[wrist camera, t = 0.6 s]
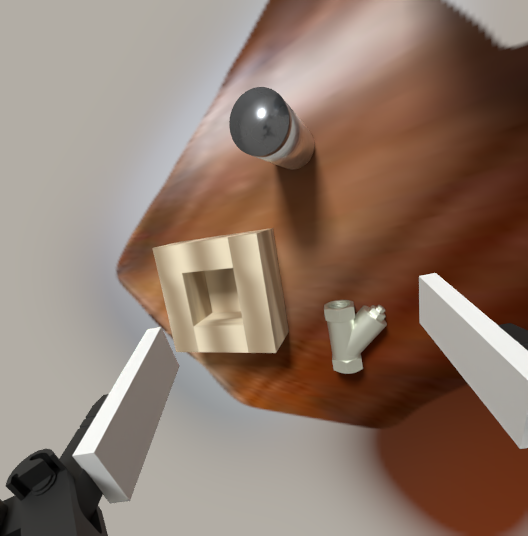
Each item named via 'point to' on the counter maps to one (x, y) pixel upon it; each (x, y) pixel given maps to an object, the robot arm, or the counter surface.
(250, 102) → the capped cylinder
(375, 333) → the pipe fitting
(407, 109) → the counter surface
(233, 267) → the socket block
